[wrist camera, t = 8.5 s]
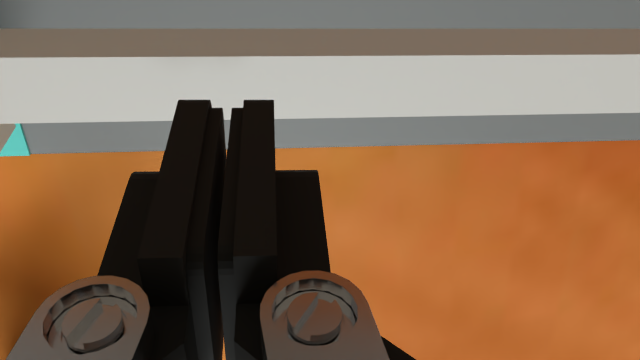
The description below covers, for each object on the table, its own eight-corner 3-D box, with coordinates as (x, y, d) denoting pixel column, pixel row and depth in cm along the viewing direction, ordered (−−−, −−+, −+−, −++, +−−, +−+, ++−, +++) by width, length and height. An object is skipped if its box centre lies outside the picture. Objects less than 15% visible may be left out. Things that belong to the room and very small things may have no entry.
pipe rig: (836, -166, 16) (1111, -129, 11) (687, 131, 22) (821, 245, 17) (-535, -223, 13) (-1082, -208, 7) (-274, 152, 19) (-475, 306, 13)
